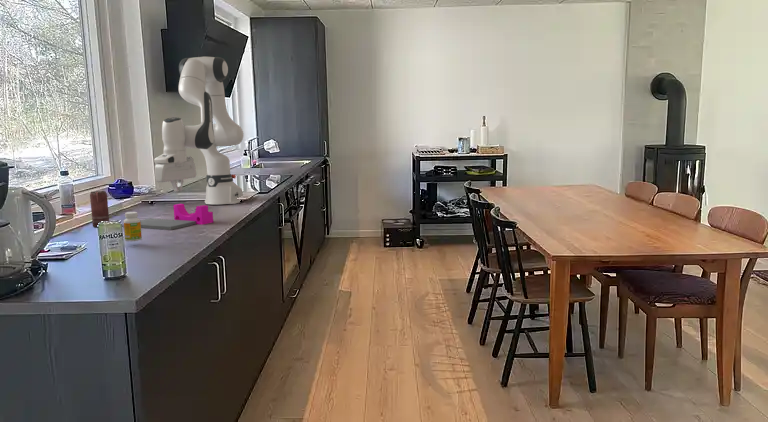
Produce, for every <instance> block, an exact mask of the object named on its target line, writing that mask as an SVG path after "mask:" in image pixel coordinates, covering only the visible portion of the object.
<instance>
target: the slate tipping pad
mask: <svg viewBox="0 0 768 422" xmlns="http://www.w3.org/2000/svg"><path fill="white" fill-rule="evenodd" d="M140 222H141V229H150V230H151V229H152V230H166V231H167V230H168V231H173V230H176V229H181V228H185V227H188V226H189V227H190V226H193V225H197V224H196V221H186V220H174V219H169V218H168V219H167V218H153V217H149V218H145V219H140Z"/></svg>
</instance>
